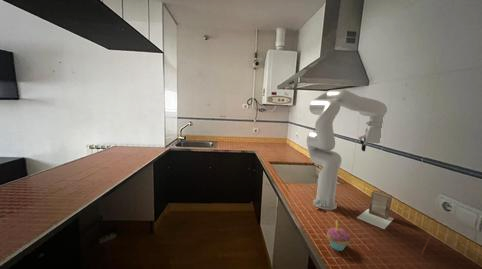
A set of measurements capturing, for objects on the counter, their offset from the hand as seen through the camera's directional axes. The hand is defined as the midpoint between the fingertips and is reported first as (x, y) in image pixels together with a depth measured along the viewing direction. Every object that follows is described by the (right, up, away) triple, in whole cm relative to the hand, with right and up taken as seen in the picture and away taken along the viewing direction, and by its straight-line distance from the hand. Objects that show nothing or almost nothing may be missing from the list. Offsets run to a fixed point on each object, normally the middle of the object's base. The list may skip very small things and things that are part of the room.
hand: (371, 151), depth 128 cm
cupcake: (-44, -34, -47) cm, 73 cm away
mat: (-14, -32, -24) cm, 43 cm away
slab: (-10, -32, -21) cm, 39 cm away
